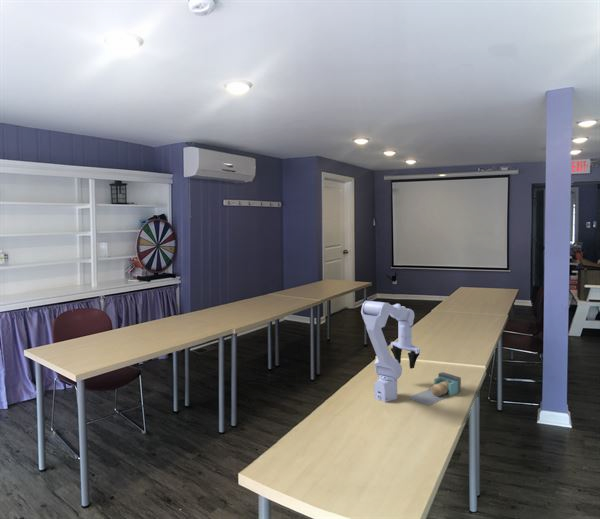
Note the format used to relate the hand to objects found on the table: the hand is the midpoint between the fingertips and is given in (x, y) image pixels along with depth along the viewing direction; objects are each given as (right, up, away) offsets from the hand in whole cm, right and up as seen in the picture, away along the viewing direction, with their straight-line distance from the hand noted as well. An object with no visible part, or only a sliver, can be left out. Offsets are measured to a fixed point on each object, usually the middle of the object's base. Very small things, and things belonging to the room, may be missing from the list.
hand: (405, 365), depth 198 cm
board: (+9, -11, -10) cm, 17 cm away
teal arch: (+16, -10, -6) cm, 20 cm away
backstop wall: (+18, -10, -3) cm, 21 cm away
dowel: (+13, -10, -8) cm, 18 cm away
